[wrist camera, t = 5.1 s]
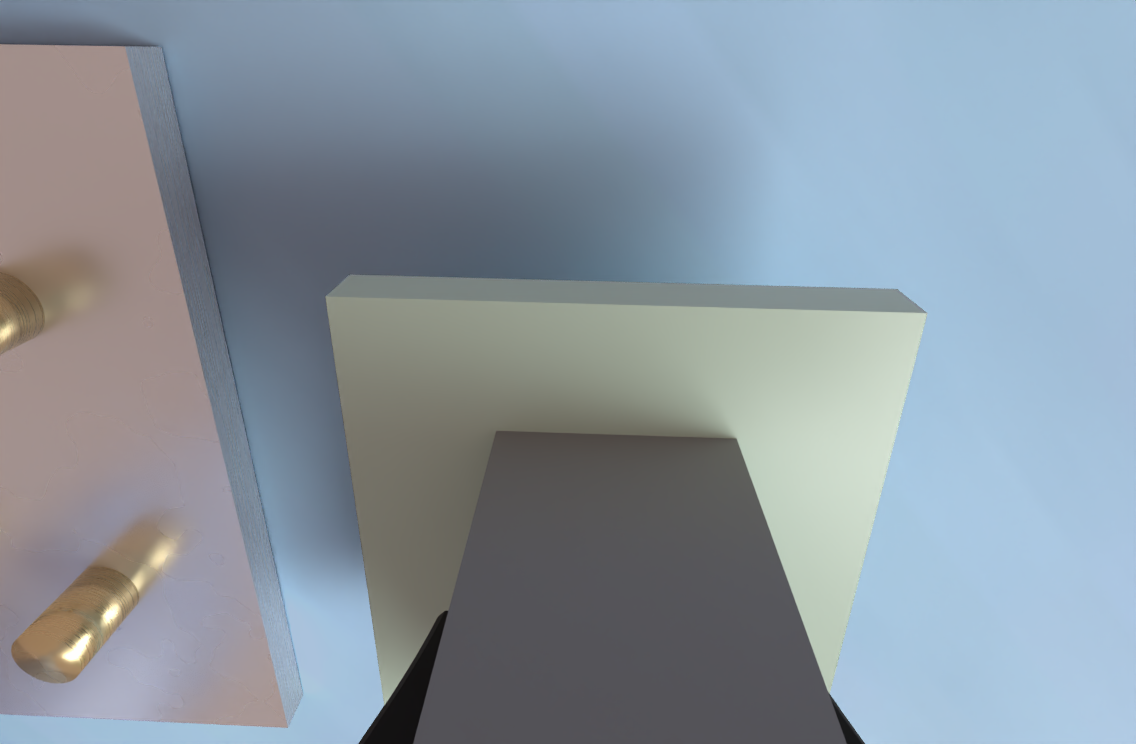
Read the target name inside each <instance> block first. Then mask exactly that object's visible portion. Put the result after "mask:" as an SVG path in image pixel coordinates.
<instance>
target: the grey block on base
mask: <svg viewBox="0 0 1136 744" xmlns="http://www.w3.org/2000/svg"><path fill="white" fill-rule="evenodd" d="M325 298H326V305H327V312H328V319H329V326H330V333H331V340H332V347H333V354H334V361H335V367H336V374H337V381H338V388H339V395H340V402H341V409H342V416H343V423H344V430H345V437H346V443H347V450H348V457H349V464H350V471H351V478H352V485H353V492H354V499H355V506H356V512H357V519H358V526H359V533H360V540H361V547H362V554H363V561H364V568H365V575H366V582H367V588H368V595H369V602H370V609H371V616H372V623H373V630H374V637H375V644H376V651H377V657H378V664H379V671H380V678H381V685H382V692H383V699H384V705H385V704H386V702H387V701H388V699H389V698H390V696H391V695H392V693H393V692H394V690H395V689H396V687H397V686H398V684H399V682H400V681H401V679H402V678H403V676H404V674H405V673H406V671H407V670H408V668H409V666H410V665H411V663H412V661H413V660H414V658H415V657H416V655H417V653H418V651H419V650H420V648H421V646H422V645H423V643H424V641H425V639H426V638H427V636H428V634H429V632H430V630H431V629H432V627H433V625H434V623H435V621H436V619H437V617H438V616H439V615H440V614H442V613H443V612H444V611H448V614H447V618H446V622H445V626H444V629H443V633H442V637H441V641H440V644H439V648H438V652H437V656H436V659H435V663H434V667H433V671H432V675H431V678H430V682H429V686H428V690H427V693H426V697H425V701H424V705H423V709H422V712H421V716H420V720H419V724H418V727H417V731H416V735H415V739H414V743H413V744H847V743H846V740H845V737H844V735H843V732H842V729H841V726H840V724H839V721H838V718H837V715H836V713H835V710H834V707H833V704H832V701H831V699H830V696H829V694H830V690H831V686H832V682H833V678H834V674H835V671H836V667H837V663H838V659H839V655H840V651H841V647H842V643H843V639H844V636H845V632H846V628H847V624H848V620H849V616H850V612H851V608H852V604H853V601H854V597H855V593H856V589H857V585H858V581H859V577H860V573H861V569H862V566H863V562H864V558H865V554H866V550H867V546H868V542H869V538H870V534H871V531H872V527H873V523H874V519H875V515H876V511H877V507H878V503H879V499H880V496H881V492H882V488H883V484H884V480H885V476H886V472H887V468H888V464H889V461H890V457H891V453H892V449H893V445H894V441H895V437H896V433H897V429H898V426H899V422H900V418H901V414H902V410H903V406H904V402H905V398H906V394H907V391H908V387H909V383H910V379H911V375H912V371H913V367H914V363H915V359H916V356H917V352H918V348H919V344H920V340H921V336H922V332H923V328H924V324H925V321H926V317H927V312H925V311H924V310H923V309H922V308H920V307H919V306H918V305H916V304H915V303H914V302H913V301H911V300H910V299H909V298H908V297H906V296H905V295H904V294H903V293H901V292H900V291H899V290H898V289H876V288H838V287H800V286H762V285H724V284H686V283H649V282H611V281H573V280H535V279H497V278H460V277H422V276H384V275H349V276H348V277H346V278H345V279H344V280H343V281H342V282H341V283H340V284H339V285H338V286H337V287H335V288H334V289H333V290H332V291H331V292H330V293H329V294H328V295H327V296H325ZM828 692H829V693H828Z"/></svg>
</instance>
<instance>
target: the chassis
mask: <svg viewBox="0 0 1136 744" xmlns="http://www.w3.org/2000/svg"><path fill="white" fill-rule="evenodd" d="M302 696H303V692H302V688H301V683H300V678H299V674H298V669H297V665H296V660H295V655H294V651H293V646H292V642H291V637H290V633H289V628H288V623H287V619H286V614H285V610H284V605H283V601H282V596H281V591H280V587H279V582H278V578H277V573H276V569H275V564H274V559H273V555H272V550H271V546H270V541H269V537H268V532H267V527H266V523H265V518H264V514H263V509H262V505H261V500H260V495H259V491H258V486H257V482H256V477H255V472H254V468H253V463H252V459H251V454H250V450H249V445H248V440H247V436H246V431H245V427H244V422H243V418H242V413H241V408H240V404H239V399H238V395H237V390H236V386H235V381H234V376H233V372H232V367H231V363H230V358H229V354H228V349H227V344H226V340H225V335H224V331H223V326H222V322H221V317H220V312H219V308H218V303H217V299H216V294H215V290H214V285H213V280H212V276H211V271H210V267H209V262H208V257H207V253H206V248H205V244H204V239H203V235H202V230H201V225H200V221H199V216H198V212H197V207H196V203H195V198H194V193H193V189H192V184H191V180H190V175H189V171H188V166H187V161H186V157H185V152H184V148H183V143H182V139H181V134H180V129H179V125H178V120H177V116H176V111H175V107H174V102H173V97H172V93H171V88H170V84H169V79H168V74H167V70H166V65H165V61H164V56H163V52H162V47H147V46H87V45H27V44H0V714H8V715H30V716H51V717H72V718H93V719H114V720H135V721H157V722H178V723H199V724H220V725H241V726H262V727H284V728H288V727H289V724H290V722H291V720H292V718H293V716H294V714H295V711H296V709H297V707H298V705H299V703H300V700H301V698H302Z"/></svg>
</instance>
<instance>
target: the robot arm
mask: <svg viewBox="0 0 1136 744" xmlns="http://www.w3.org/2000/svg"><path fill="white" fill-rule="evenodd" d="M447 614H448V611H444V612H443V613H442V614H440V615H439V616H438V617H437V619H436V621H435V623H434V625H433V627H432V629H431V630H430V632H429V634H428V636H427V638H426V639H425V641H424V643H423V645H422V646H421V648H420V650H419V651H418V653H417V655H416V657H415V658H414V660H413V661H412V663H411V665H410V666H409V668H408V670H407V671H406V673H405V674H404V676H403V678H402V679H401V681H400V682H399V684H398V686H397V687H396V689H395V690H394V692H393V693H392V695H391V696H390V698H389V699H388V701H387V702H386V704H385V705H384V707H383V708H382V710H381V711H380V713H379V714H378V716H377V717H376V719H375V720H374V722H373V723H372V724H371V726H370V727H369V729H368V730H367V732H366V733H365V735H364V736H363V738H362V739H361V741H360V742H359V744H413V743H414V739H415V735H416V731H417V727H418V724H419V720H420V716H421V712H422V709H423V705H424V701H425V697H426V693H427V690H428V686H429V682H430V678H431V675H432V671H433V667H434V663H435V659H436V656H437V652H438V648H439V644H440V641H441V637H442V633H443V629H444V626H445V622H446V618H447ZM828 693H829V692H828ZM829 696H830V699H831V701H832V704H833V707H834V710H835V713H836V715H837V718H838V721H839V724H840V726H841V729H842V732H843V735H844V737H845V740H846V743H847V744H865V743H864V742H863V740H862V739H861V738H860V736H859V735H858V733H857V732H856V731H855V729H854V728H853V727H852V725H851V724H850V722H849V721H848V720H847V718H846V717H845V715H844V714H843V713H842V711H841V710H840V708H839V707H838V705H837V704H836V702H835V701H834V700H833V698H832V697H831V695H830V694H829Z"/></svg>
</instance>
